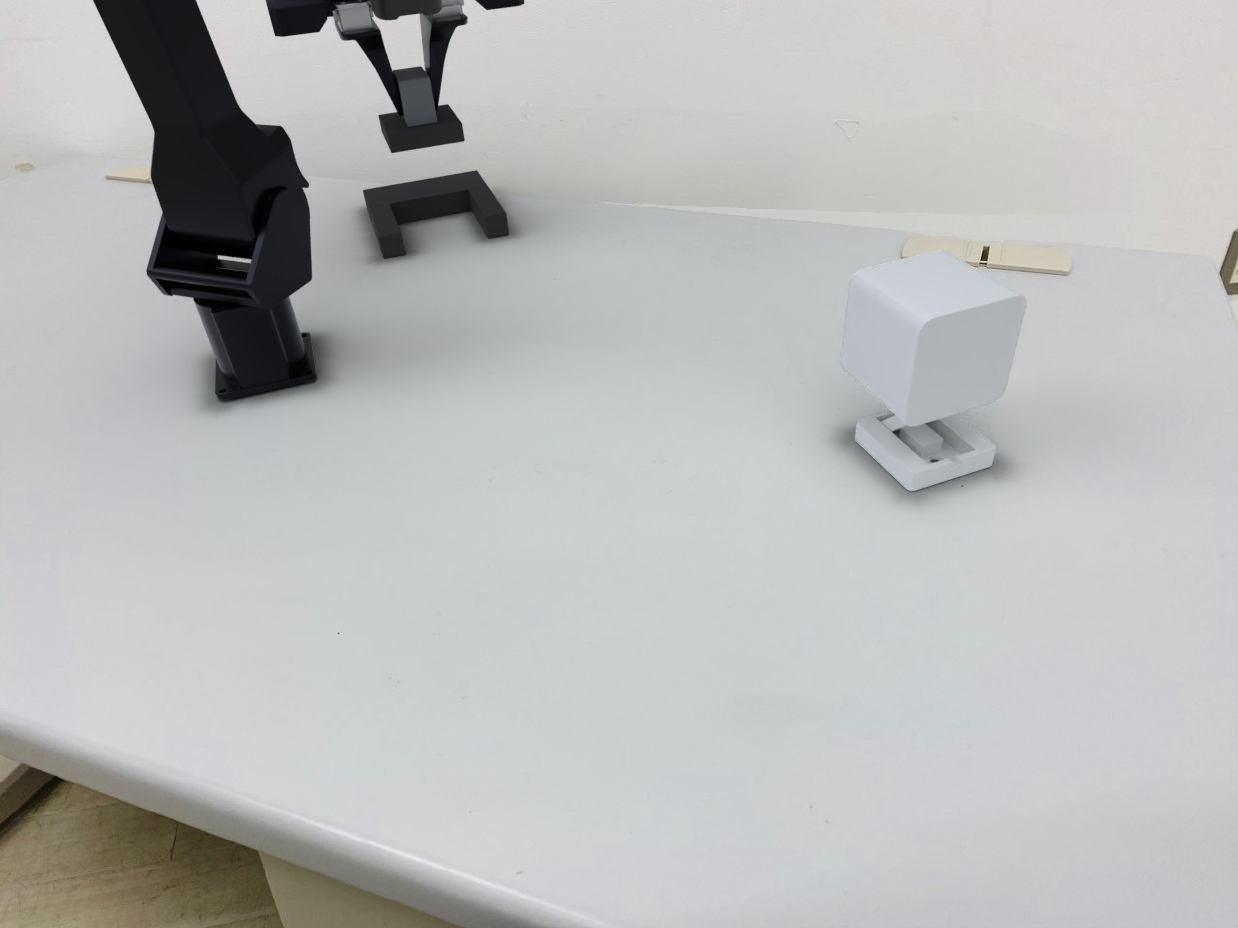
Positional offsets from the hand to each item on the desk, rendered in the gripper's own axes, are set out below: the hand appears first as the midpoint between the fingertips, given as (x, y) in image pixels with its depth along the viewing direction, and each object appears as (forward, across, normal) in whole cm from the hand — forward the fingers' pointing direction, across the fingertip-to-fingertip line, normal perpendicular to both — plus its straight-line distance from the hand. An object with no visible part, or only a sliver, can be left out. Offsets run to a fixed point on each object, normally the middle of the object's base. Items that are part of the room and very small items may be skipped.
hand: (417, 112), depth 73 cm
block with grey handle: (+2, 0, 0) cm, 2 cm away
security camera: (+11, +20, -43) cm, 49 cm away
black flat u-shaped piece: (+10, 0, +3) cm, 11 cm away
